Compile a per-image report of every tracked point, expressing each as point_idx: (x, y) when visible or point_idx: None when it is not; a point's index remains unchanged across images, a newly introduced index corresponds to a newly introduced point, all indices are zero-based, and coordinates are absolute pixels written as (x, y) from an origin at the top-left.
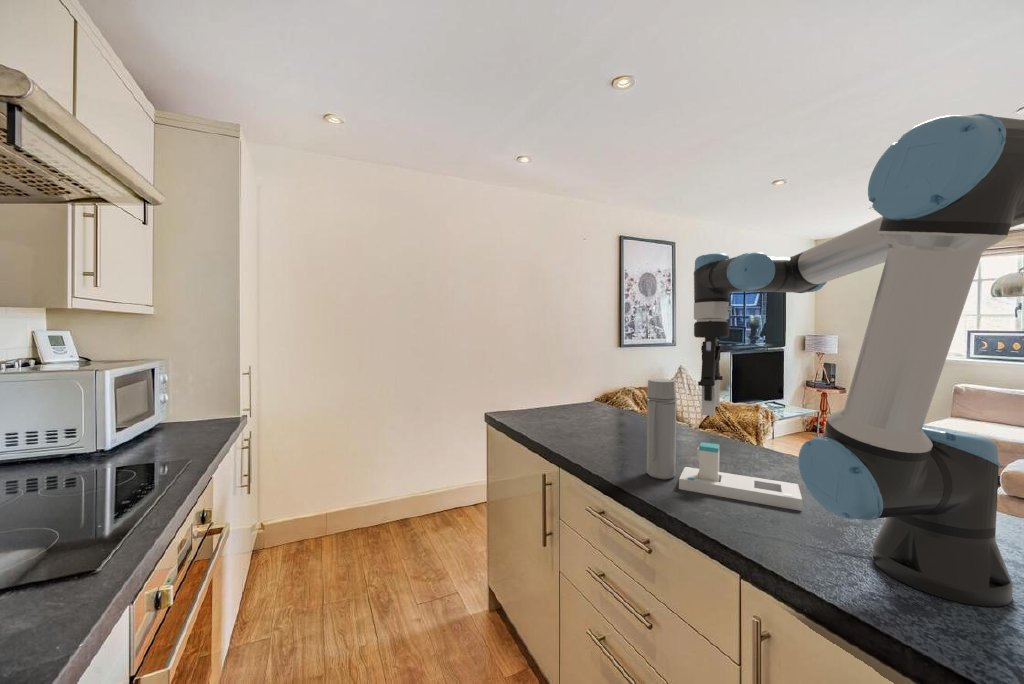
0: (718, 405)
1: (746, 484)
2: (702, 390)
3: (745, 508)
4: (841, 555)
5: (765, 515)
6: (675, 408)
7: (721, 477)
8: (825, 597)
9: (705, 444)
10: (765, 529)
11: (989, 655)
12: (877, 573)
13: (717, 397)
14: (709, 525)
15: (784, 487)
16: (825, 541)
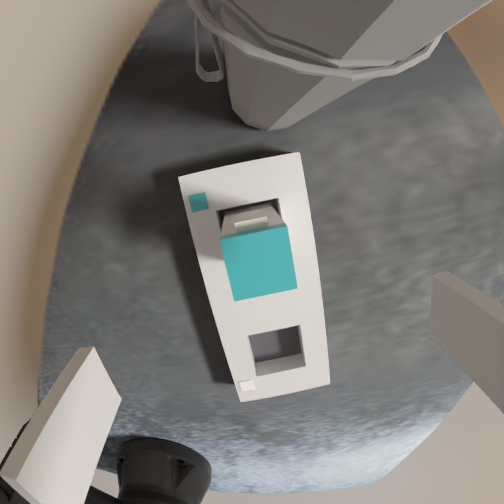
0: (431, 336)
1: (256, 319)
2: (17, 453)
3: (191, 316)
4: (133, 418)
5: (185, 347)
6: (334, 83)
7: None
8: (41, 397)
9: (262, 249)
10: (128, 353)
11: None
12: (122, 435)
13: (459, 357)
14: (72, 284)
15: (291, 373)
16: (157, 409)
